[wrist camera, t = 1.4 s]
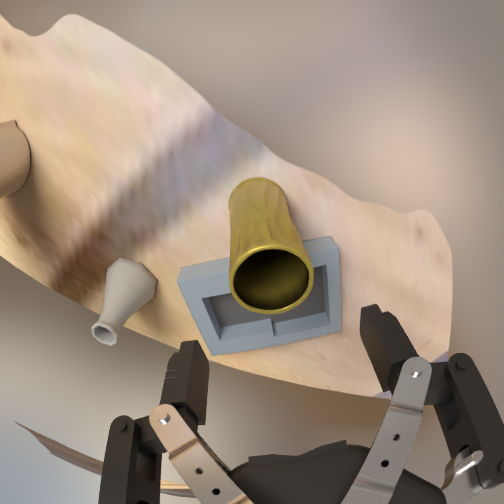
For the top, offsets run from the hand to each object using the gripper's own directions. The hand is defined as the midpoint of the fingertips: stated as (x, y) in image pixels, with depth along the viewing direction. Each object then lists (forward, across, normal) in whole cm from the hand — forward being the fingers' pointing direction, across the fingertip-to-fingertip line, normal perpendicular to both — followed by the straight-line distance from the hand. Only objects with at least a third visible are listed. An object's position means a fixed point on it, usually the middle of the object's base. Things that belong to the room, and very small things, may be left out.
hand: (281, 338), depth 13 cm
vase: (+19, 0, 0) cm, 19 cm away
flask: (+19, +18, +6) cm, 27 cm away
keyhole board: (+19, +2, +12) cm, 22 cm away
